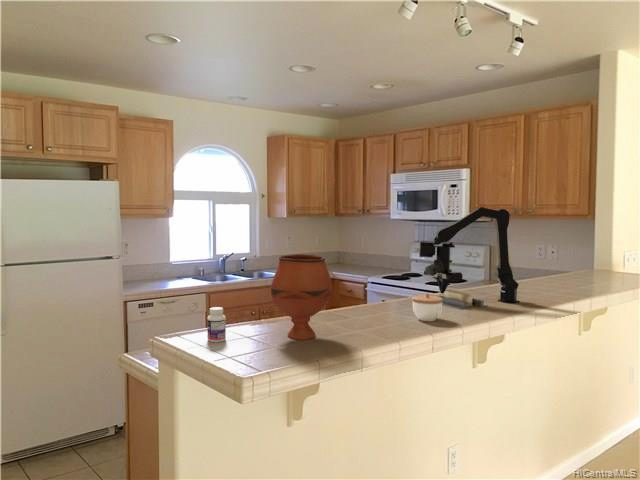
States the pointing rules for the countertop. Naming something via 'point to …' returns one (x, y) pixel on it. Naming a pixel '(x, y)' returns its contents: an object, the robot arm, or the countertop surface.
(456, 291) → the ash block
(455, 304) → the chute
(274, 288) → the goblet
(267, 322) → the countertop surface
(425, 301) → the lidded jar
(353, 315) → the countertop surface
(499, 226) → the robot arm
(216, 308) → the pill bottle
